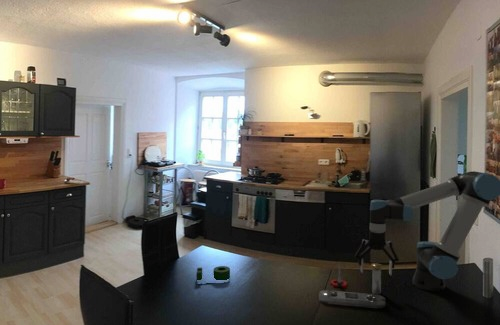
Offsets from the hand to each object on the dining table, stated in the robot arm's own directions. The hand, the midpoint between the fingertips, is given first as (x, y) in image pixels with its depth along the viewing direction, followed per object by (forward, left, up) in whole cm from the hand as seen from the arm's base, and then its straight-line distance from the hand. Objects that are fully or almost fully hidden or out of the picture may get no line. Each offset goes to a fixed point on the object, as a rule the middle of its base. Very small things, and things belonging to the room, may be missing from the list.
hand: (375, 273), depth 169 cm
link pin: (0, 0, -10) cm, 10 cm away
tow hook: (+18, -7, -10) cm, 22 cm away
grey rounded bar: (+13, +13, -10) cm, 21 cm away
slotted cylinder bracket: (+85, +2, -11) cm, 85 cm away
